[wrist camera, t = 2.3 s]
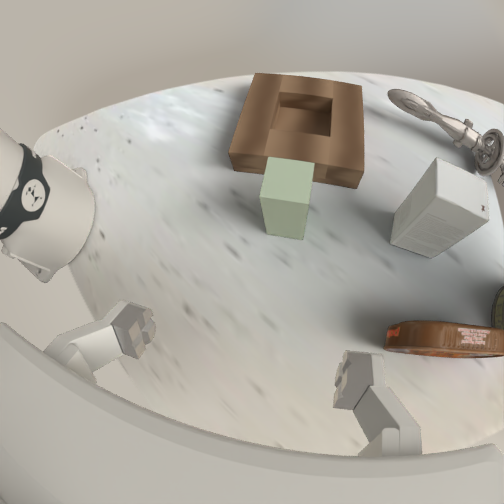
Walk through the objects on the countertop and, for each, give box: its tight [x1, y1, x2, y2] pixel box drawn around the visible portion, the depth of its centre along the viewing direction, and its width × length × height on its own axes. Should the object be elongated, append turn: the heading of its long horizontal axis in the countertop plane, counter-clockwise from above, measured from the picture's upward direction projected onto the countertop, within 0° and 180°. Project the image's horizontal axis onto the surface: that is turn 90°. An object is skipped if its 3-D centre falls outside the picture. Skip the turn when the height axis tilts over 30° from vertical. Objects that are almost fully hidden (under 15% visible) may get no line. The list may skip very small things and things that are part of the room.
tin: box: [383, 321, 504, 358], centre depth 21 cm, size 15×3×8 cm, turn 77°
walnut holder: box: [228, 73, 364, 189], centre depth 32 cm, size 15×15×4 cm
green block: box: [259, 157, 315, 240], centre depth 26 cm, size 4×4×9 cm
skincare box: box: [390, 157, 489, 258], centre depth 23 cm, size 6×4×12 cm
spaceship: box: [388, 89, 504, 186], centre depth 26 cm, size 8×35×8 cm
